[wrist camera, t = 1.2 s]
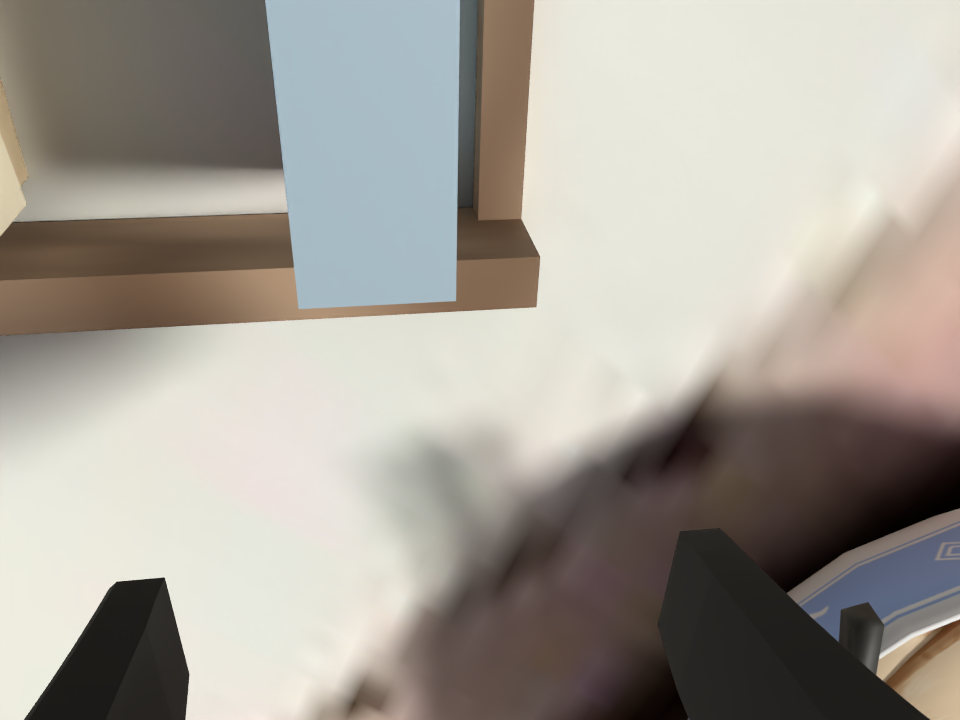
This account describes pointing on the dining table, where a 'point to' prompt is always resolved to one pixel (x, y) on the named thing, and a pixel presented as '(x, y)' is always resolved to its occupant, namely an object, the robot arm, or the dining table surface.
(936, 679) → the ramen bowl
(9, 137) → the offcut lower
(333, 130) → the pale blue tall box
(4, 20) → the dining table surface
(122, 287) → the rack
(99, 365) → the dining table surface
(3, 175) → the offcut upper
